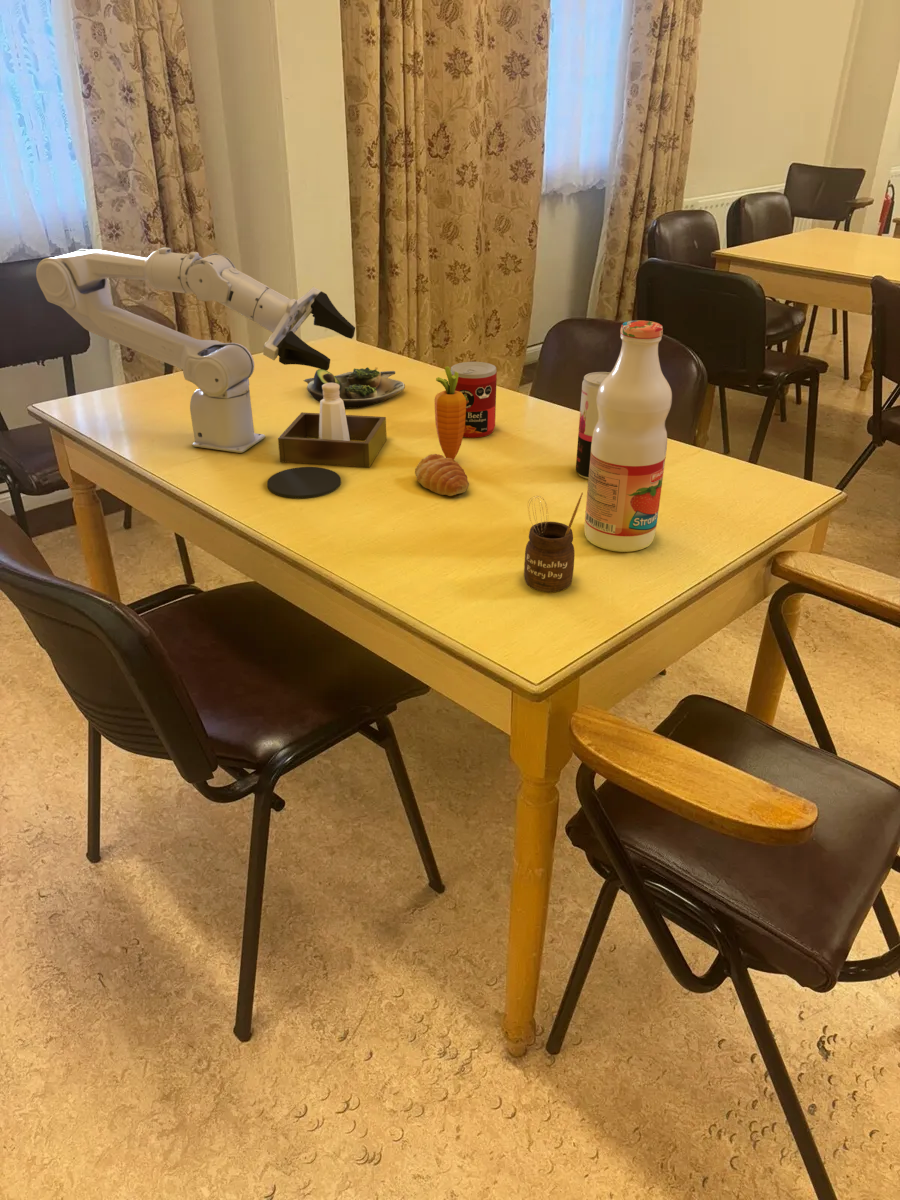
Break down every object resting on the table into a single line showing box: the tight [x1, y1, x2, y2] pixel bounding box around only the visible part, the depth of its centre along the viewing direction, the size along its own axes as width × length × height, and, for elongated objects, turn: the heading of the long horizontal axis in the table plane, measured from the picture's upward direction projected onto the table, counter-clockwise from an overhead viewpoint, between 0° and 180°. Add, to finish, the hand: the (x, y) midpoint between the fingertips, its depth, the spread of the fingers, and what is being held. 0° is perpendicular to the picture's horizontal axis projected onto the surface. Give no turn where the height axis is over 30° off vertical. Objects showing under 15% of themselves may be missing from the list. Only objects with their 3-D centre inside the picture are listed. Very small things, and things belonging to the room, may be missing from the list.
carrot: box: [434, 365, 466, 461], centre depth 139 cm, size 5×5×15 cm
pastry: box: [414, 453, 470, 497], centre depth 133 cm, size 9×7×4 cm
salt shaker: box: [318, 383, 351, 441], centre depth 144 cm, size 5×5×11 cm
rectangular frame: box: [277, 412, 388, 469], centre depth 146 cm, size 15×13×4 cm
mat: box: [266, 466, 342, 499], centre depth 135 cm, size 11×11×1 cm
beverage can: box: [575, 371, 611, 480], centre depth 135 cm, size 7×6×15 cm
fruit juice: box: [583, 319, 673, 553], centre depth 113 cm, size 9×9×28 cm
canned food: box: [450, 361, 498, 439], centre depth 152 cm, size 8×8×11 cm
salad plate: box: [303, 367, 406, 409], centre depth 173 cm, size 19×18×5 cm
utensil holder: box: [523, 492, 584, 593], centre depth 106 cm, size 6×6×12 cm
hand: (341, 349), depth 136 cm, fingers open, 7 cm apart
